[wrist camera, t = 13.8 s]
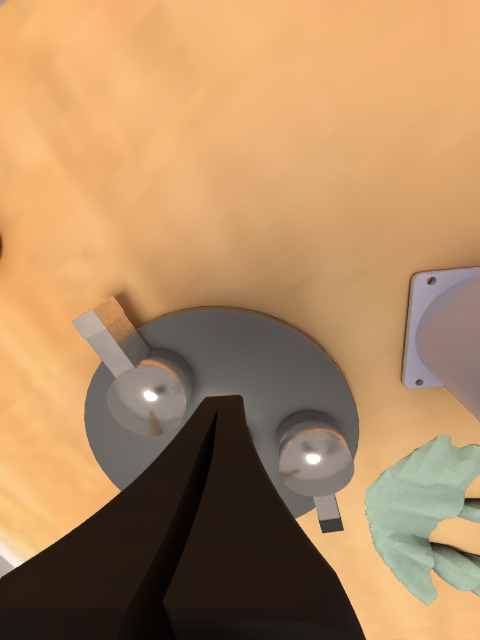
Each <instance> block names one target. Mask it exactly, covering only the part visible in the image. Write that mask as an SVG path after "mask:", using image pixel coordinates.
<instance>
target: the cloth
mask: <svg viewBox="0 0 480 640" xmlns="http://www.w3.org/2000/svg"><path fill="white" fill-rule="evenodd" d="M479 474H480V446H477V445H472V444H470V445H467V446H465V447H463V448H460V449H459V448H457V447H455V446H452V445H451V437H450V436H448V435H438V436H437V437H436V438H435V439H433V440H431V441H429V442H428V443H426V444H425V445H424V446H422V447H420V448H417V449H415V450H414V451H413V452H412V453H411V454H410V455H408V456H406V457H404V458H402V459H400V460H399V461H398V462H397V463H396V464H395V465H392V466H390V467H388V468H387V469H386V470H385V471H384V472H383V473H382V474H381V475H380V476H379V477H378V478H377V479H376V480H375V481H374V482H372V483H371V485H370V486H369V488H368V489H366V495H365V505H366V506H367V507H366V510H365V512H366V514H365V516H369V517H368V518H367V519H368V520H369V521H370V523H369V530H370V533H371V535H372V536H371V538H372V540H373V544H374V546H375V550H376V551H377V552H378V554H379V555H380V557H381V558H382V559H383V561H384V563H385V564H386V565H387V566H388V567H390V570H391V571H392V572H393V573H394V575H395V577H396V578H397V580H398V581H400V582H401V583H402V584H403V585H404V586H406V588H407V589H408V590H409V591H410V593H411V594H412V595H414V596H415V597H417V598H418V599H419V600H420V601H421V602H423V603H424V604H425V605H428V604H430V603H431V602H432V601H434V600H435V599H436V598H437V596H438V593H437V591H436V590H435V588H434V586H433V584H432V581H431V578H430V575H429V572H430V570H431V569H433V570H434V571H435V572H436V573H437V575H438V576H439V577H441V578H442V579H443V580H444V581H446V582H447V583H449V584H450V585H451V586H453V587H454V588H456V589H457V590H462V591H469V590H471V591H472V592H473V593H475V594H476V595H477V596H479V597H480V557H478V556H476V555H473V554H470V553H466V552H458V551H454V550H453V549H451V548H449V547H446V546H444V545H442V544H439V543H434V542H429V540H428V538H429V536H430V533H431V531H433V530H434V529H436V527H437V524H438V522H440V521H441V520H443V519H449V518H455V517H456V516H457V517H460V518H464V519H467V520H470V521H473V522H477V523H480V498H465V490H466V489H467V487H468V486H469V485H470V483H471V482H472V481H473V480H474V479H475V478H476V477H477V476H478V475H479Z"/></svg>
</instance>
